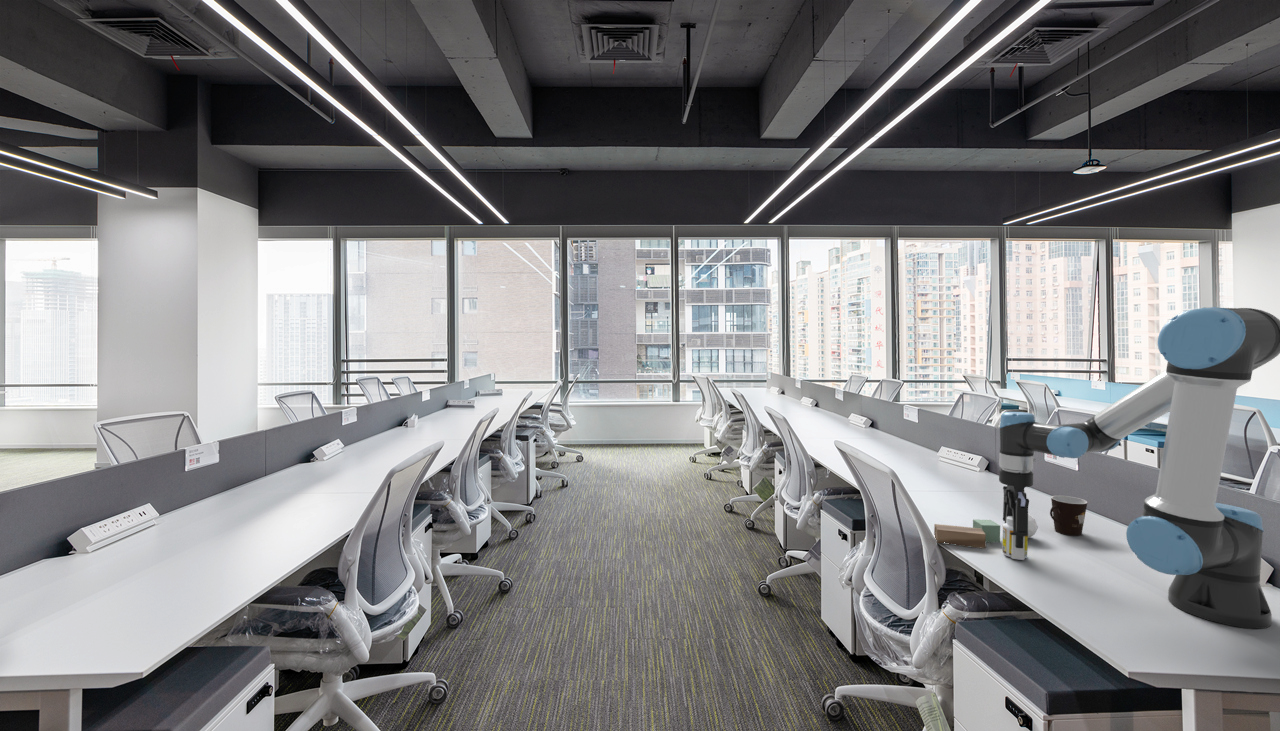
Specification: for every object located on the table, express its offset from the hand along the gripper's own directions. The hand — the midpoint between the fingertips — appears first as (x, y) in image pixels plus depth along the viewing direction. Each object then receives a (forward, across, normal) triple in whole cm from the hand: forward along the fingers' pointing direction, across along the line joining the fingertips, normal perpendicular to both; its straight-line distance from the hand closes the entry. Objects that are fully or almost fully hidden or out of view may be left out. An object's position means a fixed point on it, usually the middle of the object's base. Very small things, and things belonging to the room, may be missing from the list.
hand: (1014, 554), depth 146 cm
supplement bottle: (+1, 0, 0) cm, 1 cm away
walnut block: (0, +6, +12) cm, 13 cm away
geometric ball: (+1, +17, -6) cm, 18 cm away
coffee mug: (+1, +26, -19) cm, 32 cm away
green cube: (+1, +12, +4) cm, 13 cm away
